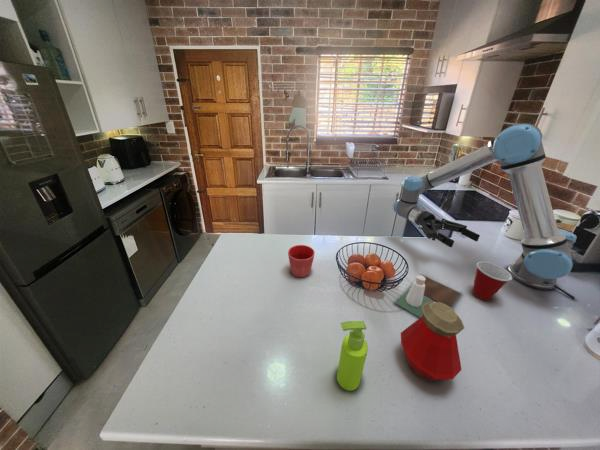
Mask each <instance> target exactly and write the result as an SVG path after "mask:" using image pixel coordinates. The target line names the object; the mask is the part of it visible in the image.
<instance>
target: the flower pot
mask: <svg viewBox="0 0 600 450" xmlns="http://www.w3.org/2000/svg"><path fill="white" fill-rule="evenodd" d="M315 254H316V253H315V250H314V248H312V247H311V246H309V245H306V244H298V245H294V246H291V247H290V248H289V249H288V251H287V255H288V256H287V257H288V259H289V260H288V261H289V266H290V271H291V274H292V275H293V276H294V277H298V278H305V277H307V276H308V275H309V274H310V273H311V271H312V270H311V269H312V267H313V262H314V257H315Z"/></svg>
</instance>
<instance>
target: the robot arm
mask: <svg viewBox="0 0 600 450" xmlns="http://www.w3.org/2000/svg"><path fill="white" fill-rule="evenodd" d="M542 140H543V134H542V130H541V129H540V128H539V127H538V126H537V125H535V124H532V123H526V122H525V123H518V124H514V125H511V126H509V127H506V128H504V129H503V130H502V131H501V132H500V133H499V134H498V135H497V136H496V137H495V138H492V139H490V140H489V142H488V143H487V144H485V145H483V146H482V147H480V148H477V149H476V150H473V151H471V152H469V153H467V154H465V155H463V156H461V157H458V158H456V159H455V160H452V161H450V162H448V163H446V164H444V165H442V166H439V167H438V168H436V169H433V170H432V171H429V172H428V173H425V174H423V175H421V176H407V177H406V178H405V179H404V182H403V185H402V190H401V196H400V198H399V199H397V200H395V203H394V204H393V206H392V207H393V208H392V210H393V212H394V213H395V214H397V215H398V216H400V217H402V218H404V219H406V220H407V221H409V222H411V223H412V224H414V225H416V226H417V227H418V229H419V230H421V231H422V233H423V234H424V235H425V237H426V238H427V239H428V240H431V241H434V242H435V241H436V240H437V241H438V242H440V243H442V244H444V245H445V246H447V247H448V248H453V247H454V243H455V240H454V239H452V238H451V237H448V236H446V235H444V234H443V233H441V232H438V230H442V231H445V230H446V231H450V232H451V231H452V232H454V233H455V232H456V233H461V235H462V236H464V237H466V238H468V239H470V240H472V241H474V242H476V243H477V242H479V239H480V234H478V233H476V232H474V231H472V230H470V229H468V225H466V224H462V223H458V222H456V221H452V220H448V219H445V218H441V219H437V218H436V215H435V214H434V213H432V212H430V211H428V210H426V209H424V208H422V207H420V206H418V202H419V198H420V195H422V194H424V193H425V192H427V191H429V190H432V189H434V188H436V187H438V186H441V185H443V184H445V183H448V182H451V181H453V180H455V179H457V178H460V177H463V176H464V175H468V174H469V173H472V172H474V171H476V170H479V169H481V168H484V167H486V166H488V165H490V164H493V163H495V162H499V167H500V171H502V172H503V173H507V175H508V179H509V182H510V187H511V191H512V194H513V197H514V200H515V204H516V207H517V212H518V216H519V219H520V223H521V228H522V231H523V234H524V236H523V237H522V238H521V239H520V243H521V248H522V252H521V255H520V256H519V257H518V258H516V259H514V260H513V261H511V263H510V264H509V266H508V267H507V269H506V270H507V271H508V272H509V273H510V274H511V276H512V279H514V280H516V281H517V282H519V283H521V284H523V285H525V286H527V287H531V288H534V289H538V290H544V291H545V290H546V291H548V290H552V289H554V288H555V289H557V290H558V291H560V292H562V293H563V294H565V295H567V296H568V297H569V298H571V299H573V300H574V299H575V298H576V297H575V296H574V295H572V294H571V293H569V292H567V291H566V290H564V289H562V288H561V287H559V286H557V285H556V284H557V279H561V278H563V277H565V276H567V275H568V274H570V272H571V271H572V269H573V267H574V261H573V258H572V247H573V246H574V244H575V243H576V242H577V241H576V240H577V239H578V237H577V235H576V234H574V233H573V232H570V231H568V230H566V229H562V228H558V226H557V222H556V217H555V215H554V214H555V213H554V209H553V206H552V202H551V198H550V195H549V191H548V187H547V186H548V185H547V183H546V178H545V175H544V171H543V167H542V164H543V163H544V162H545V160H546V159H547V156H546V151H545V148H544V144H543V141H542Z"/></svg>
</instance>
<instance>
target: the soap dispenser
mask: <svg viewBox="0 0 600 450" xmlns="http://www.w3.org/2000/svg"><path fill="white" fill-rule="evenodd" d="M340 327H341V330H342V331H343V332H346V331H349V334H348V335H345V336H344V338H343V339H342V343H341V349H340V354H339V361H338V367H337V373H336V381H337V383H338V385H339V386H340V387H341V388H342V389H344V390H346V391H349V392H350V391H355V390H356V389H358V388H359V386H360V383H361V381H362V375H363V371H364V367H365V363H366V358H367V354H368V351H369V346H368V343H367V341H366V340H365V337H366V335H365V332H364V331H363V330H365V331H366V330H367V326H366V323H365V320H347V321H342V322H340Z"/></svg>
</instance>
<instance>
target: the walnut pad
mask: <svg viewBox="0 0 600 450" xmlns="http://www.w3.org/2000/svg"><path fill="white" fill-rule="evenodd" d="M423 276H424V277H425V278H426V280H425V282H424V284H425V290H424V295H423V296H424V297H426V298H428V299H429V300H431V301H433V302H441V303H443V304H446V305H448V306H449V307H450V308H452V307H453V305H454V304H455V302H456V301H457V299H458V298H459V296H460V294H461V292H459V291H456V290H455V289H452V288H450V287H448V286H446V285H444V284H442V283H440V282H437V281H436V280H433V279H432V278H430V277H427V276H425V275H423Z"/></svg>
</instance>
